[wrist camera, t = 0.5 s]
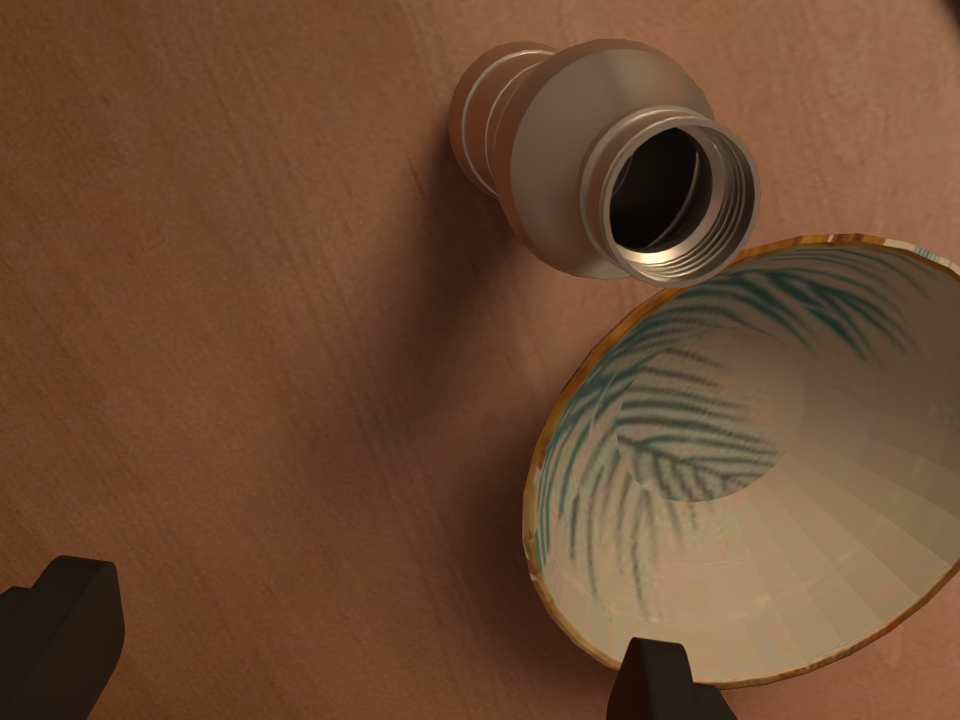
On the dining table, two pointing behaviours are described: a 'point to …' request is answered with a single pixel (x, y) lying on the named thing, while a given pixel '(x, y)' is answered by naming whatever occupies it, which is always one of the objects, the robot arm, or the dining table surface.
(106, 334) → the dining table surface
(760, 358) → the bowl
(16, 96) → the dining table surface
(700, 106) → the silver metal bottle
